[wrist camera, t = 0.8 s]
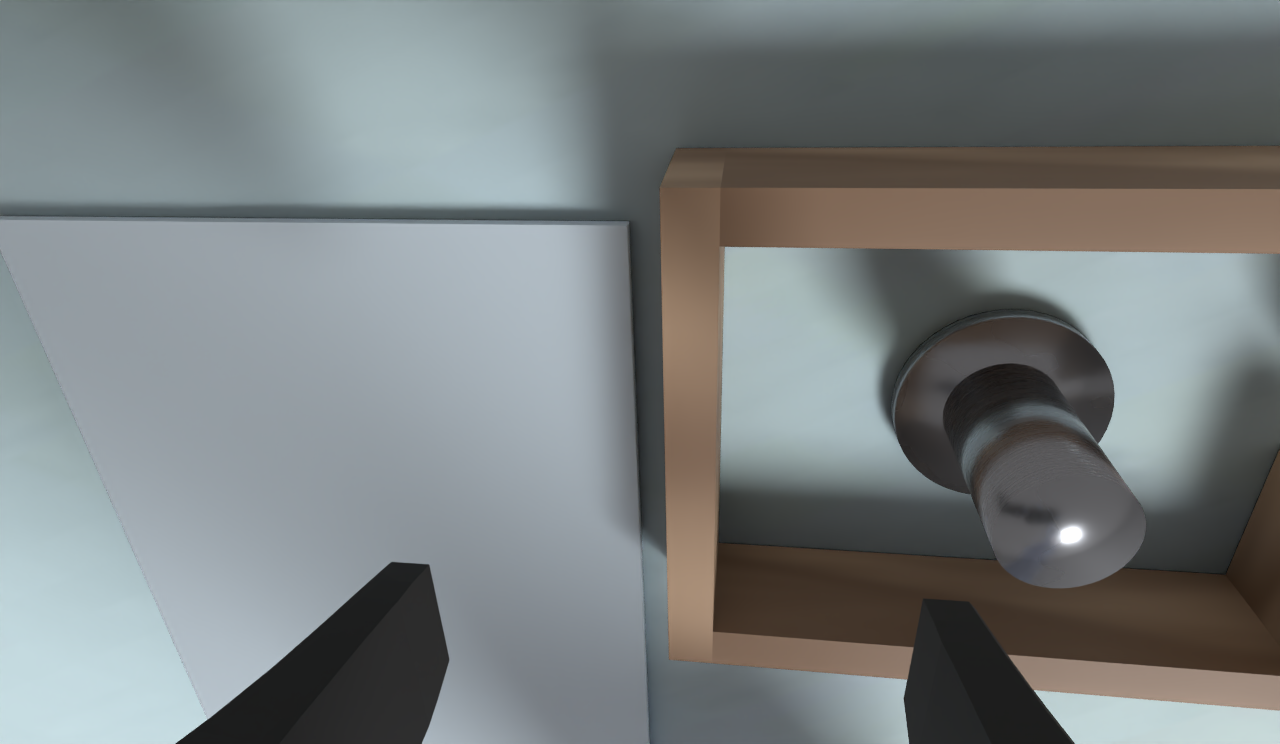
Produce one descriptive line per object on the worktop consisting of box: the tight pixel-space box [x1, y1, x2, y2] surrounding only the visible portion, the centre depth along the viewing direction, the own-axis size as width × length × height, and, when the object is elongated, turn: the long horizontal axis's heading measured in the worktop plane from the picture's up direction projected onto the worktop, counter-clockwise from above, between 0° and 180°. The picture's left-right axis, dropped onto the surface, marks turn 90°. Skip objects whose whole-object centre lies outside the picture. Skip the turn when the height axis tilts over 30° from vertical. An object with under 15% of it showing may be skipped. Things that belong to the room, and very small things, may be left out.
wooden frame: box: [660, 146, 1280, 710], centre depth 16 cm, size 11×14×3 cm
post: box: [891, 309, 1146, 588], centre depth 15 cm, size 4×4×4 cm
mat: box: [0, 216, 650, 744], centre depth 21 cm, size 18×15×1 cm
